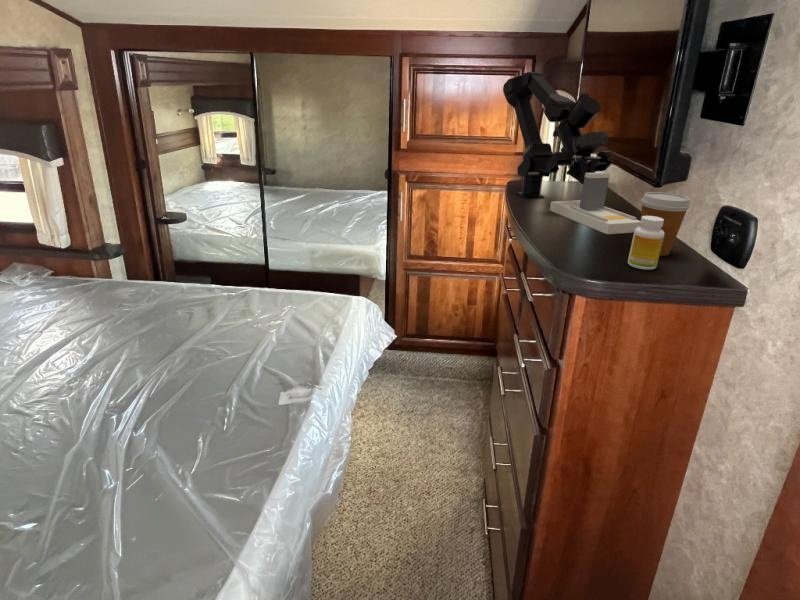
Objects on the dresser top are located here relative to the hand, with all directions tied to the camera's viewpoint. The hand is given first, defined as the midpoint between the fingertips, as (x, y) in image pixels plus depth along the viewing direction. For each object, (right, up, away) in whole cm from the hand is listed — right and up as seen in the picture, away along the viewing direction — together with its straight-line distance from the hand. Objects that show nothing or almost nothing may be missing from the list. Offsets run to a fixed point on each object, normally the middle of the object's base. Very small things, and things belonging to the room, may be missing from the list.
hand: (591, 188), depth 135 cm
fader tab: (0, -5, +1) cm, 5 cm away
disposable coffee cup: (+5, -19, -22) cm, 29 cm away
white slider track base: (0, -8, +1) cm, 8 cm away
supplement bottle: (-2, -22, -31) cm, 38 cm away
